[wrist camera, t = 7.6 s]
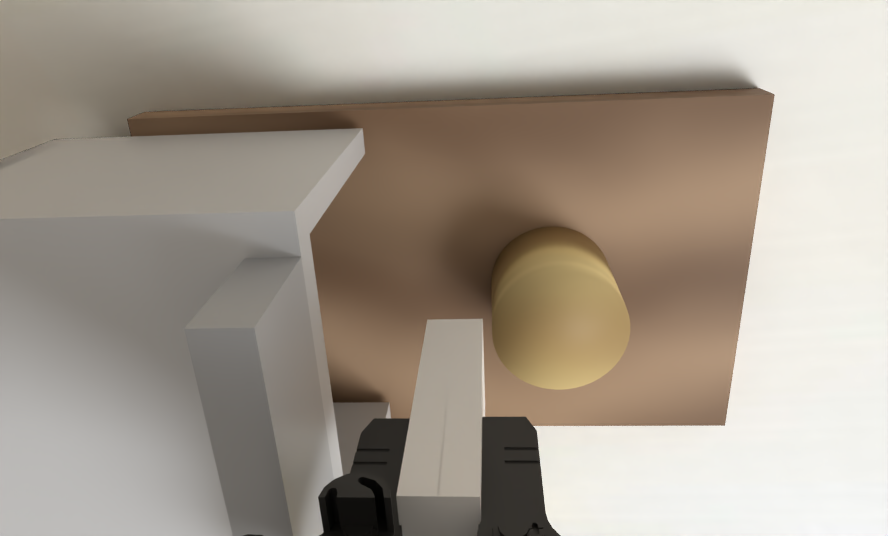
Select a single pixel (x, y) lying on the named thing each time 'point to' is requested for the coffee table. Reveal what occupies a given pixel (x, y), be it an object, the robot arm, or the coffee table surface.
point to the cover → (169, 336)
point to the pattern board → (516, 182)
